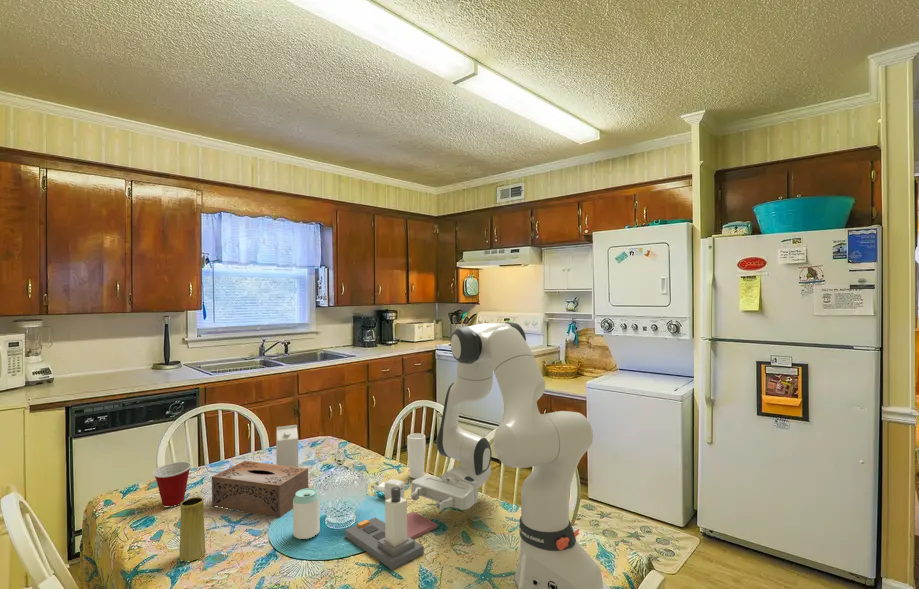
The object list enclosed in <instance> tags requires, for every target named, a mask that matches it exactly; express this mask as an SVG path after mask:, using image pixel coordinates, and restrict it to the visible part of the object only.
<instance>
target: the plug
mask: <svg viewBox="0 0 919 589" xmlns="http://www.w3.org/2000/svg"><path fill="white" fill-rule="evenodd" d="M407 501H408V500H407V499H405V498H401V493H400V487H393V488H391V498H390V499H385V500H384V516H385V517H384V518H385V519H384V520H385V521H384V523H385V542H386V543H388V544H389V545H391V546H392V547H394V548H395V547H397V546H399V545H401V544H403V543H405V542H407V514H408V503H407Z"/></svg>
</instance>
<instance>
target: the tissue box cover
mask: <svg viewBox="0 0 919 589" xmlns="http://www.w3.org/2000/svg"><path fill="white" fill-rule="evenodd" d="M306 488H309V467H303V466H302V467H301V466H298V467H293V466H285V465H276V464H275V463H269V462H268V463H266V462H265V463H264V462H258V461H257V462H256V461H249V460H244V461H242V462H238V463H237V464H235V465H233V466H231V467H229V468H227V469H225V470H223V471H220V472H218V473H217V474H215V475H213V476H211V507H212V506H218V507H223V508H228V509H227V510H229V509H233V510H232V511H235V510H239V511H238V512H241V511H243V512H242V513H248V512H249V514H255V515H261V516H267V517H268V516H269V517H273V518H282V517H283V516H284V515H286V514H287V513H289V512H290V511H291V510H293V499H294V497H295V494H296V492H297V491H299V490H301V489H306Z"/></svg>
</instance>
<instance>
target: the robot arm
mask: <svg viewBox="0 0 919 589" xmlns="http://www.w3.org/2000/svg"><path fill="white" fill-rule="evenodd" d="M450 350H451V354H452V355H453V356H452V357H453V358H454V359H455V360H456V361H457V367H456V378H455V382H452V383H451V384H450V385H449V386H448V389H447V390H446V395H445V400H444V404H443V410H442V415H441V422H440V427H439V430H438V433H437V436H436V439H435V442H436V443H435V444H436V448H437V451H438V453H439V455H441V456H444V457H447V458H449V459H453V460H454V461H455V460H456V461H458V462H459V465H457V466H456V467H453V468H451V469H449V470H447V471H445V472H444V473H443V474H441V477H437V476H433V475H429V474H427V475H424V476H423V477H420V478H417V479H413V480H412V481H411V494H410V498H411V499H410V500H411V501H412V500H413V501H418V500H419V499H420V498H419V497H422V498H425V499H428V500H432V501H434V502H436V508H437V509H439V510H443V509H446V508H456V509H459V510H462V511H463V510H469V509H470V508H471V507H473V506H474V504H476V503H478V501H479V488H480V487H482V486H483V485H484V484H485V483H486V482H487V480H488V479H489V478H490V476H491V473H492V466H491V462H492V447H491V444H490V442H489V440H488V439H487V438H486V437H483V436H481V435H479V434H476V433H473V432H470V431H468V430H465V429H463V428H461V427H460V426H459V423H458V421H459V417H460V416H459V415H460V412H461V407H462V406H461V405H462V404H468V403H469V404H472V403H475V402H478V401H481V400H483V399H485V398H486V397H487V396H488V395H489V394H490V392H491V391H492V388H493V380H494V378H493V376H495V378H496V381H497V384H498V387H499V390H500V392H501V396H502V400H503V414H502V415H503V416H502V418H501V421H500V423H499V425H498V427H497V428H496V429H495V432H494V434H493V449H494V453H495V455H496V457H497V458H498V460H499V461H500V462H501V464H502V465H504V466H505V467H507V468H515V469H516V468H519V469H520V468H521V469H522V468H523V469H524V468H525V469H527V468H531V467H534V468H533V470H532V471H531V472H530V474H529V475H528V476H527V477H526V478H525V479H524V481H523V482H522V485H521V490H520V497H521V498H520V502H521V503H520V508H521V509H520V512H521V513H520V517H519V536H520V548H519V556H518V563H517V567H516V571H515V574H514V580H515V584H516V586H517V589H612V588H611V587H610V586H609V585H607V584H605V583H604V581H603V574H602V570H601V568H600V566H599V564H598V563H597V562H596V561H595V560H594V559H593V557H591V555H590V554H589V553H588V552H587V550H585V549H584V547H582V545H581V544H580V543H579V542H578V541H577V536H579V535H580V528H578V529H576V530H575V531H574V528H573V526H572V523H571V520H570V492H571V486H572V482H573V478H574V475H575V472H576V471H577V470H576V469H577V467H578V465H579V463H580V461H581V459H583V458H582V457H583V456H584V455H585V453H586V452H588V450H590V448H591V446H592V444H593V439H594V433H593V428H592V425H591V424H590V423H591V422H590V421H589V420H588V419H587V417H586V416H585V415H584V414H582V413H581V412H577V411H570V410H567V411H566V410H559V411H558V410H557V411H552V412H547V413H541V412H540V410H539V407H538V401H539V399H541V397H542V396H543V395H544V392H545V390H546V381H545V379H544V376H543V374H542V372H541V370H540V367H539V364H538V363H537V361H536V358H535V356H534V354H533V352H532V349H531V347H530V346H529V345H528V343H527V336H526V333H525V330H524V329H523V328H522V326H521V325H520V324H519V323H515V322H511V321H506V322H483V323H477V324H473V325H469V326H468V325H464V326H461V327H459V328H456V329H454V331H453V333H452V335H451V337H450Z"/></svg>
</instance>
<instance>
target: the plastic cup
mask: <svg viewBox="0 0 919 589" xmlns="http://www.w3.org/2000/svg"><path fill="white" fill-rule="evenodd" d="M191 467H192V463H191V462H190V461H189V462H188V461H175V462H171V463H170V462H169V463H167V464H163V465H162V466H159V467H157V468H155V469H154V470H153V472H152V475H153V477H154V478H155V480H156V483H157V488H158V491H159V492H158V493H159V496H160V499H161V504H162V506H163V505H164V506H174V505H178V504H180V503H181V502H183V501H184V500H185V497H186V492H187V486H188V480H189V474H190V470H191Z"/></svg>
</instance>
